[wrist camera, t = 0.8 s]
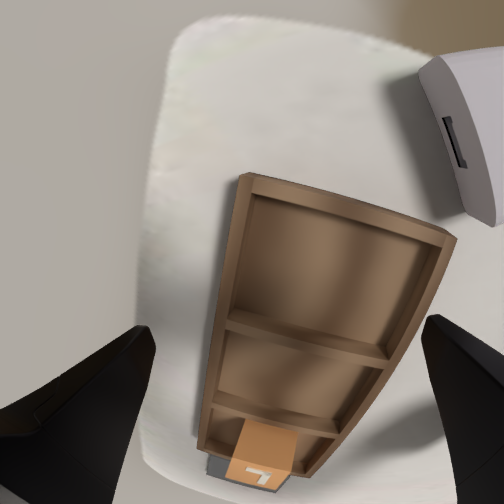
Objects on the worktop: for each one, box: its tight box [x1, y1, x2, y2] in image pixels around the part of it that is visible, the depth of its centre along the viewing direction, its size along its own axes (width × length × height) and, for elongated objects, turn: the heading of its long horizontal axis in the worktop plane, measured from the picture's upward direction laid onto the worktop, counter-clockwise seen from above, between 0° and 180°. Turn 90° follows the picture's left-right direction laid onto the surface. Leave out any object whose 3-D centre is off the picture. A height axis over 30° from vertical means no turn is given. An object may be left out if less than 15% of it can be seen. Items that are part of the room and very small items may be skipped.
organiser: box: [197, 172, 457, 478], centre depth 20 cm, size 13×28×2 cm, turn 169°
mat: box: [206, 454, 290, 493], centre depth 29 cm, size 10×7×1 cm
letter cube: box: [225, 419, 298, 490], centre depth 22 cm, size 5×5×5 cm
